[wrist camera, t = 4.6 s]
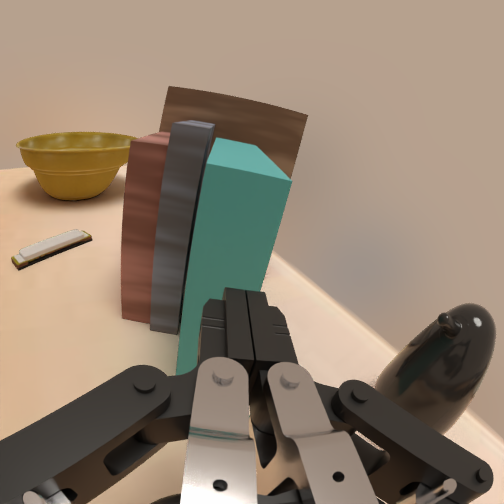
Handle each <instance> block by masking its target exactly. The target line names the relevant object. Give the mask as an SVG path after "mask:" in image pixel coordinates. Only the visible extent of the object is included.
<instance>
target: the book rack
mask: <svg viewBox="0 0 504 504" xmlns="http://www.w3.org/2000/svg"><path fill="white" fill-rule="evenodd" d="M307 117H308V115H306V114H303V113H299V112H296V111H292V110H289V109H285V108H281V107H278V106H274V105H270V104H266V103H261V102H257V101H253V100H248V99H244V98H239V97H234V96H229V95H224V94H219V93H213V92H207V91H200V90H195V89H187V88H180V87H172V86H169V87H168V91H167V96H166V100H165V105H164V109H163V114H162V119H161V125H160V130H159V133H155V134H151V135H148V136H145V137H141V138H138V139H135V140H132V141H131V143H130V149H129V157H128V165H127V173H126V182H125V193H124V205H123V220H122V241H121V303H122V318H123V319H128V320H133V321H138V322H143V323H149V324H150V330H153V331H158V332H164V333H170V334H176V335H177V332H178V326H179V319H180V314H181V308H182V302H183V296H184V291H185V285H186V280H187V273H188V266H189V259H190V253H191V246H192V240H193V234H194V228H195V222H196V216H197V210H198V205H199V199H200V194H201V188H202V183H203V178H204V173H205V168H206V163H207V160H208V158H209V155H210V153H211V150H212V147H213V145H214V142H215V140H216V137H217V138H222V139H227V140H232V141H237V142H242V143H247V144H251V145H256V146H257V147H258V148H259V149H260V150H261V151H262V152H263V153H264V154H265V155H266V156H267V157H268V158H269V159H271V160H272V161H273V162H274V163H275V164H276V165H277V166H278V167H279V168H280V169H281V170H282V171H283V172H284V173H285V174H286V175H287V176H288V177H289V178H290V179H291V176H292V172H293V168H294V164H295V161H296V158H297V154H298V150H299V146H300V143H301V139H302V135H303V131H304V128H305V124H306V121H307Z"/></svg>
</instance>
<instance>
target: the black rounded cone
mask: <svg viewBox="0 0 504 504" xmlns="http://www.w3.org/2000/svg"><path fill="white" fill-rule="evenodd" d="M495 339H496V327H495V323H494V320H493V318H492V316H491V315H490V313H489V312H488V311H487V310H486V309H485V308H484V307H482V306H480V305H477V304H474V303H466V304H462V305H459V306H457V307H455V308H453V309H451V310H449V311H448V312H446V313H441V314H440V315H439V317H438V319H436V320H435V321H434V322H432V323H431V324H430V325H429V326H428V327H427V328H425V329H424V330H423V331H422V332H421V333H420V334H419V335H417V336H416V337H415V338H414V339H413V340H412V341H411V342H410V343H409V344H408V345H406V346H405V347H404V348H403V349H402V350H401V351H400V352H399V353H398V355H397V356H396V357H395V358H394V359H393V360H392V361H391V362H390V363H389V364H388V365H387V366H386V367H385V369H384V370H383V371H382V373H381V374H380V375H379V377H378V379H377V381H376V385H375V390H377V391H378V392H379V393H381V394H382V395H384V396H385V397H387V398H388V399H390V400H391V401H392V402H394V403H395V404H397V405H398V406H400V407H401V408H403V409H404V410H406V411H407V412H409V413H410V414H411V415H413V416H414V417H416V418H417V419H419V420H420V421H422V422H423V423H425V424H426V425H428V426H429V427H431V428H433V429H434V430H436V431H437V432H439V433H440V434H442V435H444V434H445V433H446V432H447V431H448V430H449V429H450V428H451V427H452V426H453V425H454V424H455V423H456V422H457V420H458V419H459V418H460V417H461V415H462V414H463V413H464V411H465V410H466V408H467V407H468V405H469V404H470V403H471V401H472V399H473V398H474V396H475V394H476V392H477V391H478V389H479V387H480V385H481V383H482V381H483V379H484V377H485V374H486V372H487V369H488V367H489V364H490V361H491V358H492V355H493V351H494V346H495Z"/></svg>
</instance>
